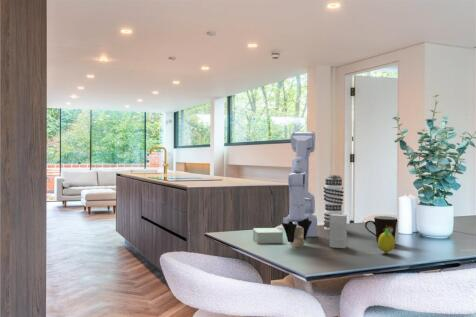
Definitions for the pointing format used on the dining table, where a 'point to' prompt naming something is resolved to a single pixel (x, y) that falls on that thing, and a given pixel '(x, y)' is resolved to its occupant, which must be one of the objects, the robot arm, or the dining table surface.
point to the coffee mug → (383, 225)
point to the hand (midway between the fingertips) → (296, 240)
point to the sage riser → (267, 235)
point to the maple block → (298, 237)
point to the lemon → (386, 241)
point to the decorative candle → (332, 198)
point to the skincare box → (338, 231)
